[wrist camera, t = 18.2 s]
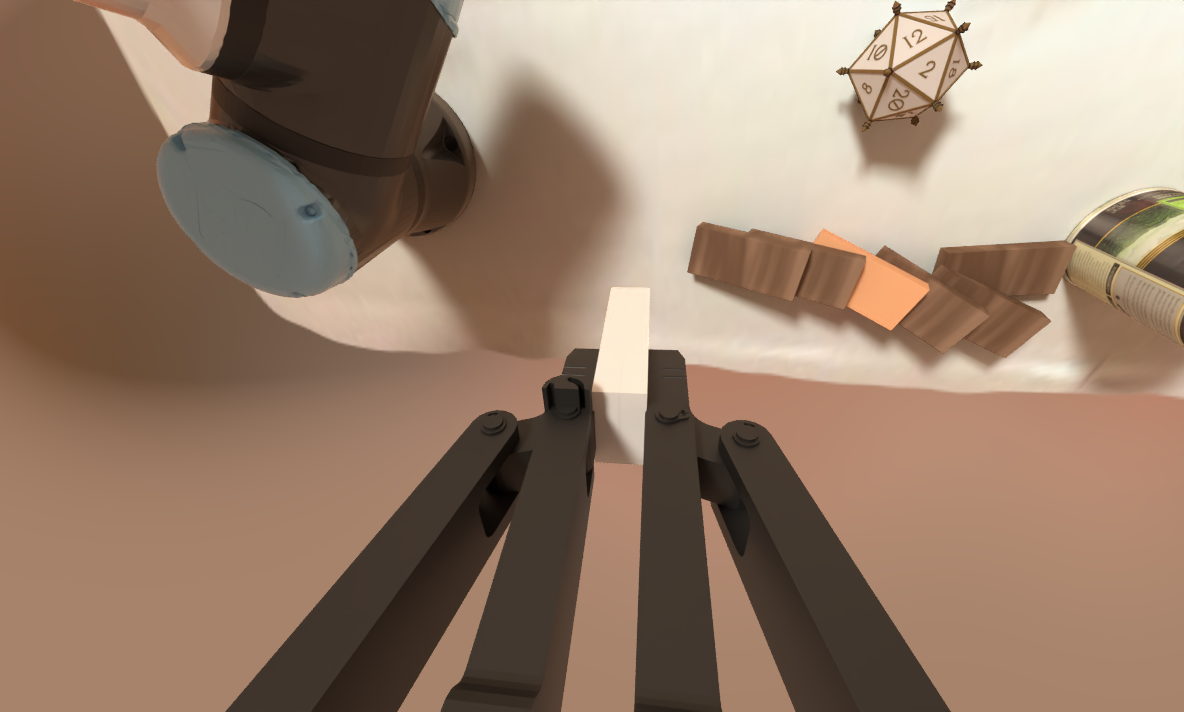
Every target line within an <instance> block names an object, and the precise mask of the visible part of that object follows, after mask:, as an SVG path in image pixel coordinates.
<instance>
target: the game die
mask: <svg viewBox="0 0 1184 712" xmlns="http://www.w3.org/2000/svg"><path fill="white" fill-rule="evenodd" d="M955 1H956V0H952V1H950V2H948V4H947V5H946V6H945V7H946V8H945V10H944V11H924V12H903V13H901V12H900V9H901V7H900V5H901V4H899V3H898V2H896V1H895V3H894V5H893V7H892V10H893V13H894V14H895V15H894V17H893V18H892V19H891V20H890V21H889V22H888V24H887V25H886V26H885V27H884V28H883V29H882V31H881V30H880V29H879V30H875V34H874V37H875V39H874V40H873V41H872V42H871V43H870V45H869V46H868V47H867V48H866V49H865V50H864V52H863V53H862V54H861V55H860V56H859V57H858V59H857V60H856V61H855V62H854V63H853V64H852V66H851V67H850V68H848V69H847V68H846V67H845V68H841V69H839V70H837V71H836V72H837V73H838V74H840V75H844V74H848V75H849V77H850V80H851V82H852V84H853V87H854V89H855V91H856V94H857V96H858V98H859V101H858V103H860V104H861V105H862V107H863V110H864V112H865V114H866V116H867V119H868V121H867V122H865V123H864V125H863V126H862V127H863V128H862V132H863V131H865V130H867V129H869V126H871V122H873V121H883V120H894V119H904V118H912V120H911V121H912V123H911V124H913V125H915V126H916V125H917V124H918V122H919V120H918V117H917V115H919V114H921V113H922V112H924V111H925V110H927V109H928V108H930V107H931V106H933V109H934V110H935V112H936V111H942V106H943V104H941V102H938V101H939V100H940V99H941V97H942V96H943V95H944V94H945V93H946V92H947V91H948V90H949V89H950V87H951V86H952V85H953V84H954V83H955V82H956V81H957V80H958V79H959V77H960V76H961V75H962V74H963V73H964V72H965V71H966V70H967V69H971V70H972V69H975V70H976V69H977V68H979V67H981V66H982V64H981V63H980V62H979V61H977V62H975V61H974V62H973V63H969V60H968V57H967V54H966V51H965V48H964V44H963V41H962V38H961V35H960V33H964V32H965V31H967V30H968V27H969V26H970V24H971V23H965V22H964V23H963V24H962V25H961V26H960V27H959V28H957V26H956V24H955V23H954V21H953V19H952V17H951V15H950V14H949V11H950V10H952V9H953V7H954V6H955V5H956V4H955Z"/></svg>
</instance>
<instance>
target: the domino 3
mask: <svg viewBox="0 0 1184 712" xmlns="http://www.w3.org/2000/svg"><path fill="white" fill-rule="evenodd" d="M814 243H815V244H819V245H823V246H827V247H831V248H835V249H840V250H844V251H848V252H852V253H856V254H860V255H865V256H866V262H865V265H864V267H863V269H862V271H861V273H860V276H859V278H858V280H857V282H856V284H855V286H854V289H853V291H852V293H851V295H850V297H849V300H848V302H847V304H846V306H848V307H849V308H851V309H853V310H855V311H856V312H858V313H860V314H862V315H864V316H865V317H867V318H869V319H871V320H873V321H874V322H876V323H878V324H880V325H881V326H883V327H885V328H887V329H889V330H890V331H891V330H892V329H893V328H894V327H895V326H896V325H897V324H898V323H899V322H900V321H901V320H902V319H903V317H904V316H905V315H906V314H907V313H908V312H909V311H910V310H911V309H912V308H913V307H914V306H915V305H916V304H917V303H918V302H919V301H920V300H921V299H922V298H923V297H924V296H925V295H926V293H927V292H928V291H929V285H928V283H926V282H924V281H922V280H920V279H918V278H917V277H915V276H913V275H911V274H909V273H907V272H905V271H903V270H901V269H899V268H897V267H896V266H894V265H892V264H890V263H888V262H886V261H884V260H882V259H880V258H878V257H877V256H875V255H873V254H871V253H869V252H867V251H865V250H863V249H861V248H859V247H857V246H856V245H854V244H852V243H850V242H848V241H846V240H844V239H842V238H840V237H838V236H837V235H835V234H833V233H831V232H829V231H827V230H825V229H823V230H822V231H821V233H820V234H819V236H818V237H817V238H816V240H815V241H814Z"/></svg>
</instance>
